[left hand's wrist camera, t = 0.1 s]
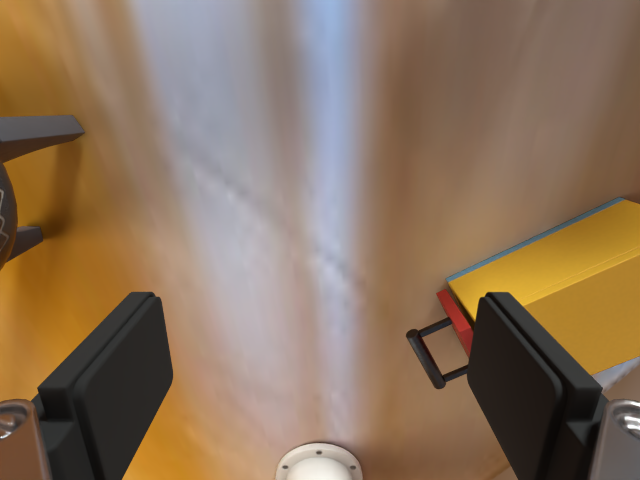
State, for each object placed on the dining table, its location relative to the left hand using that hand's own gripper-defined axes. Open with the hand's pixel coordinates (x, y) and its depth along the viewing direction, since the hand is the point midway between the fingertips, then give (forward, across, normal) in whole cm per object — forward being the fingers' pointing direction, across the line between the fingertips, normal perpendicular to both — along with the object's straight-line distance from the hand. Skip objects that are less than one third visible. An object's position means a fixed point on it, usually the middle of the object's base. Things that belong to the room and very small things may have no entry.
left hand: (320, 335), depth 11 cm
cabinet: (+31, +26, -13) cm, 43 cm away
